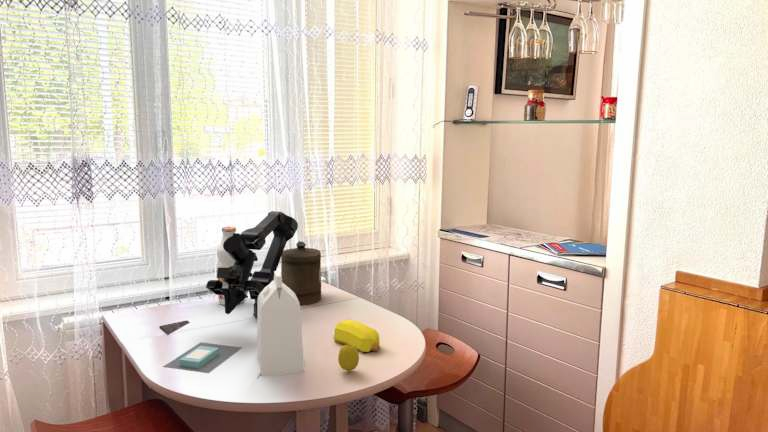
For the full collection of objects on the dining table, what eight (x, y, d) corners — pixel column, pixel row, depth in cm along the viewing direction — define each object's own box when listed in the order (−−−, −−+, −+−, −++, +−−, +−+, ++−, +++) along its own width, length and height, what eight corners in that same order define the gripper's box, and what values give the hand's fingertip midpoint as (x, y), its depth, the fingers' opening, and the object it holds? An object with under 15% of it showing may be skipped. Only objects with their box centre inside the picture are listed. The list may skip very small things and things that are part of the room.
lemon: (338, 367, 159) (338, 340, 158) (358, 367, 160) (358, 339, 158) (338, 376, 154) (338, 348, 152) (359, 376, 154) (359, 347, 153)
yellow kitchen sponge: (346, 334, 185) (327, 340, 179) (346, 313, 183) (327, 319, 178) (386, 350, 172) (367, 357, 167) (386, 328, 171) (367, 335, 166)
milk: (304, 370, 157) (302, 278, 153) (260, 376, 154) (257, 281, 150) (297, 353, 169) (296, 266, 164) (257, 358, 165) (254, 269, 161)
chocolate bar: (187, 320, 194) (208, 336, 180) (187, 323, 194) (208, 339, 180) (159, 326, 188) (178, 343, 174) (159, 328, 188) (179, 346, 175)
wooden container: (329, 298, 220) (328, 241, 216) (299, 308, 209) (298, 248, 205) (303, 290, 229) (302, 236, 226) (273, 299, 218) (271, 242, 215)
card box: (200, 345, 168) (179, 359, 158) (218, 347, 166) (198, 361, 157) (200, 351, 168) (179, 365, 159) (219, 353, 166) (199, 368, 157)
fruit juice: (213, 301, 215) (210, 227, 210) (236, 296, 221) (233, 224, 216) (226, 307, 208) (223, 231, 203) (249, 302, 215) (247, 227, 210)
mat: (200, 344, 175) (200, 342, 175) (242, 349, 171) (242, 347, 171) (163, 368, 158) (163, 366, 158) (208, 375, 154) (208, 373, 154)
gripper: (203, 255, 181) (186, 301, 173) (253, 254, 173) (237, 303, 165) (224, 271, 189) (208, 316, 181) (272, 271, 182) (258, 318, 174)
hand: (227, 313), depth 175 cm, fingers closed
